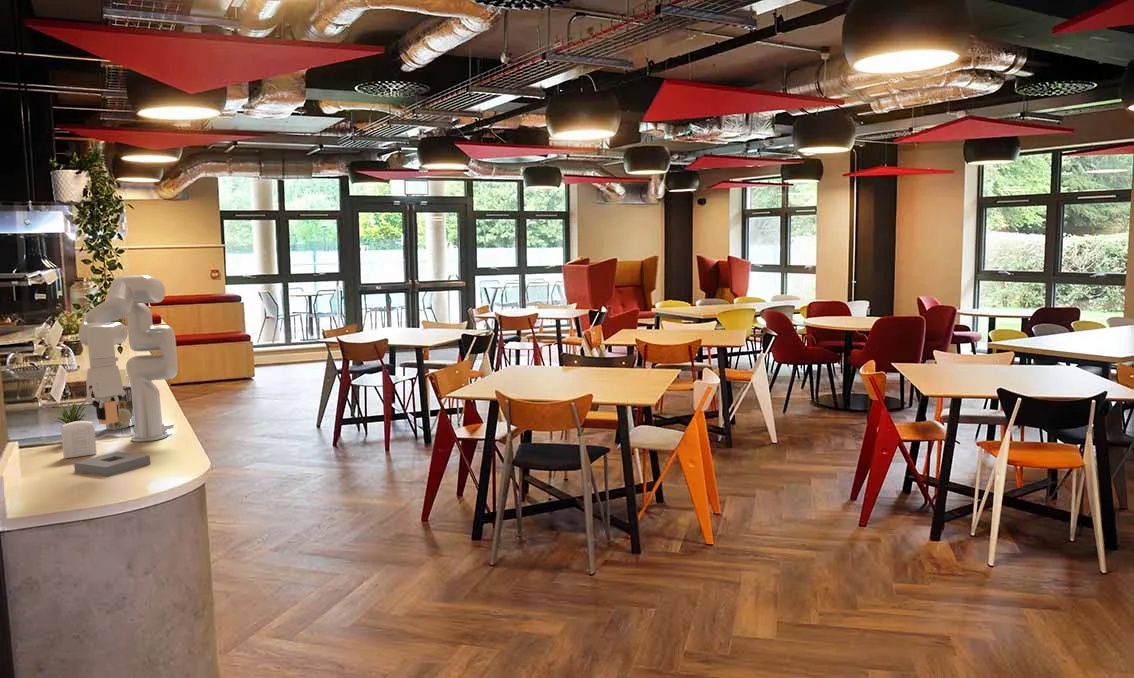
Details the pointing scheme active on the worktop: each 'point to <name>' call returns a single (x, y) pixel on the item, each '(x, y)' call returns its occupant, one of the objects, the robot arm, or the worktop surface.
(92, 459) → the grey square hole board
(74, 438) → the photo printer
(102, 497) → the worktop surface
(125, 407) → the coffee box
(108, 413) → the orange rectangular block
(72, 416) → the house plant
